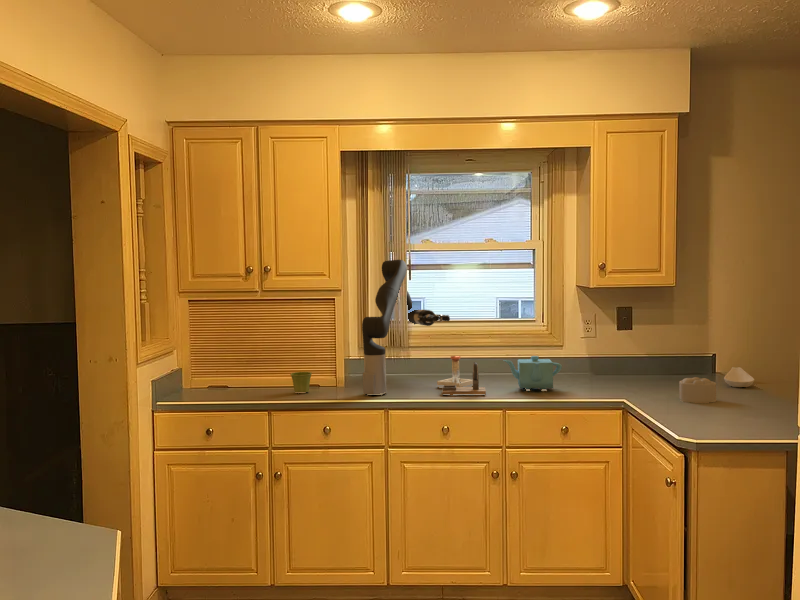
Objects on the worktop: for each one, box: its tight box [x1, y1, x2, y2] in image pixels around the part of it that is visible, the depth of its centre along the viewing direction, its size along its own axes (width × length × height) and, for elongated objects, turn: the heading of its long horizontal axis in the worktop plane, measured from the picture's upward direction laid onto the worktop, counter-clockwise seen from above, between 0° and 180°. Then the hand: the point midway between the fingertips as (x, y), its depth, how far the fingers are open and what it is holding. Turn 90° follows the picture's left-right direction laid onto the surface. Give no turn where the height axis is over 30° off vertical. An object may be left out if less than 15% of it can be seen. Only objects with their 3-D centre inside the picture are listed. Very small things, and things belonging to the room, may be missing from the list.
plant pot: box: [290, 371, 313, 393], centre depth 314 cm, size 9×9×9 cm
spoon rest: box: [723, 366, 755, 388], centre depth 312 cm, size 24×12×7 cm, turn 161°
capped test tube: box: [450, 355, 461, 383], centre depth 321 cm, size 4×4×13 cm
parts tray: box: [436, 377, 473, 387], centre depth 321 cm, size 12×12×3 cm
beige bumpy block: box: [678, 376, 717, 404], centre depth 277 cm, size 10×13×9 cm
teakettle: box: [503, 355, 563, 390], centre depth 309 cm, size 19×19×15 cm
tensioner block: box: [441, 361, 487, 395], centre depth 303 cm, size 10×18×13 cm, turn 85°
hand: (440, 319), depth 329 cm, fingers open, 8 cm apart
